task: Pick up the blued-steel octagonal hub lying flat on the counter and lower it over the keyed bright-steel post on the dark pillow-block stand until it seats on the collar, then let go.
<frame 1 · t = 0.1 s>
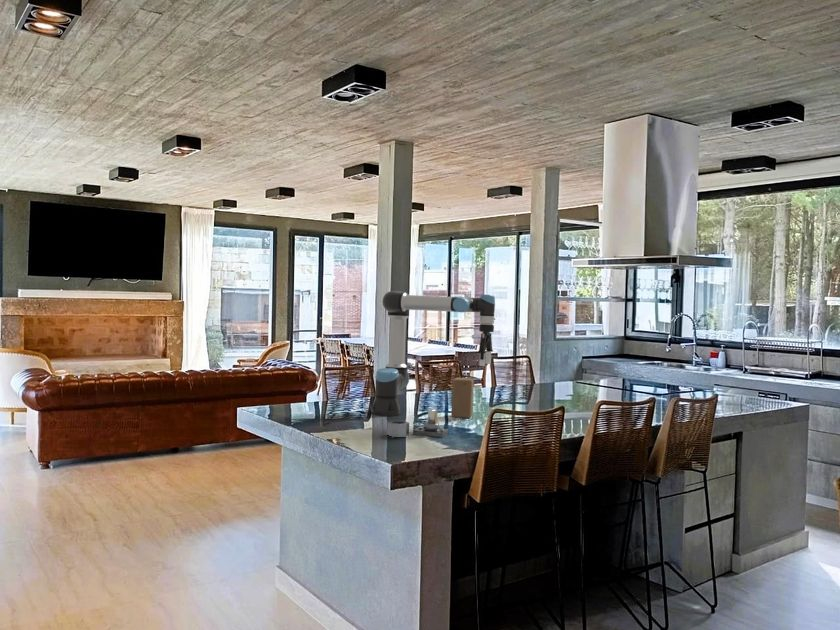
hand: (485, 365, 368), 28 cm above the countertop, fingers open, 13 cm apart
hub: (397, 435, 314), on the countertop
wooden block: (461, 416, 373), on the countertop
shaft stand: (431, 434, 321), on the countertop
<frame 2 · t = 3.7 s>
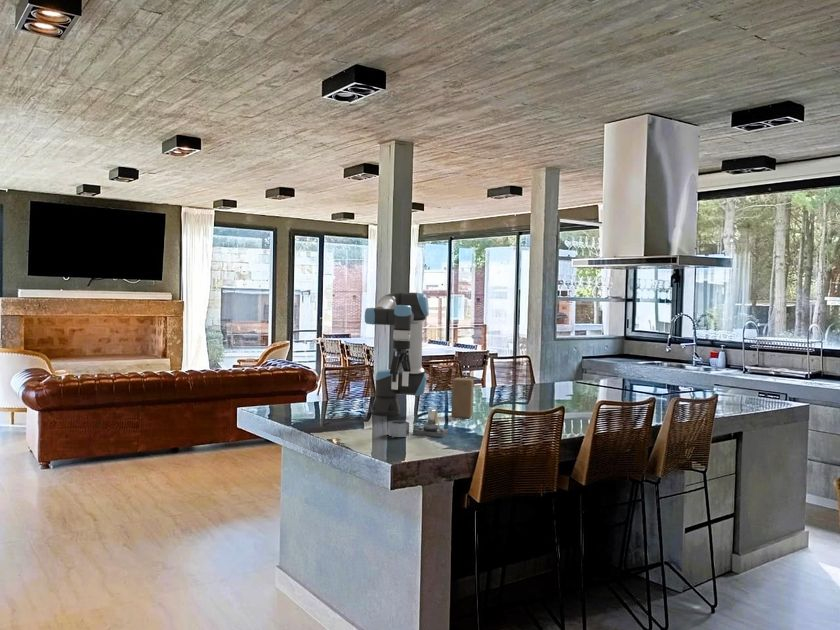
hand: (399, 387, 314), 21 cm above the countertop, fingers open, 13 cm apart
nothing on the countertop moved.
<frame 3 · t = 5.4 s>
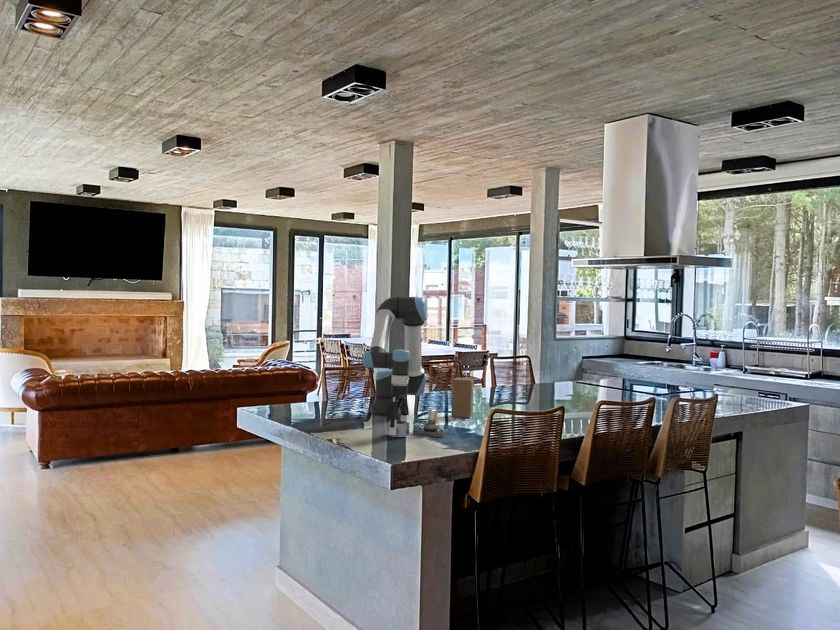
hand: (398, 432, 314), 2 cm above the countertop, fingers open, 13 cm apart
nothing on the countertop moved.
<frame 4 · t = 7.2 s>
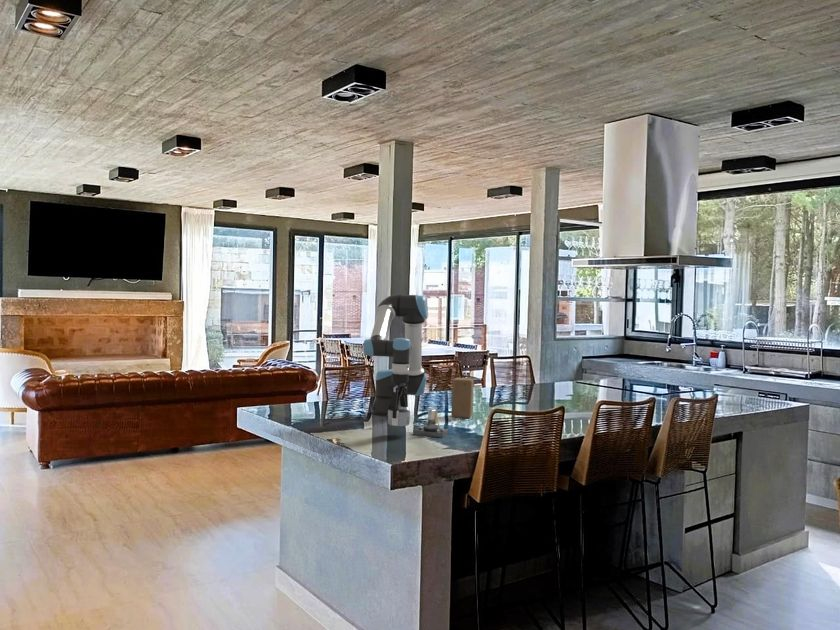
hand: (398, 423, 315), 5 cm above the countertop, fingers closed on hub, 9 cm apart
hub: (398, 423, 315), point 5 cm above the countertop, touching gripper
everything else where it was.
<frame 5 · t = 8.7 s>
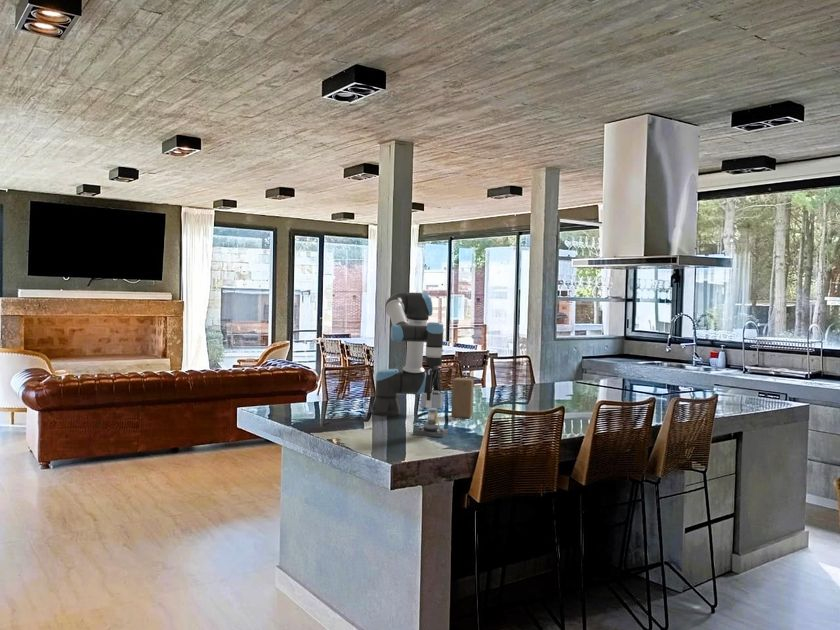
hand: (431, 406, 321), 13 cm above the countertop, fingers closed on hub, 9 cm apart
hub: (431, 406, 321), point 13 cm above the countertop, touching gripper
everything else where it was.
when the fingers open (5 cm above the countertop, at t = 10.6 s): hub stays where it is, resting on shaft stand.
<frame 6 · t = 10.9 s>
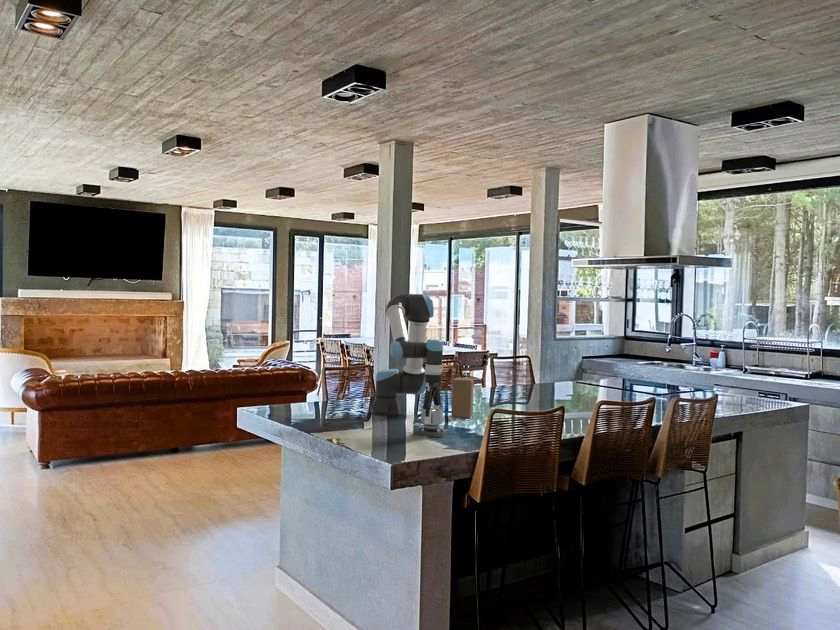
hand: (431, 421, 321), 6 cm above the countertop, fingers open, 11 cm apart
hub: (431, 423, 321), point 5 cm above the countertop, touching shaft stand
everything else where it was.
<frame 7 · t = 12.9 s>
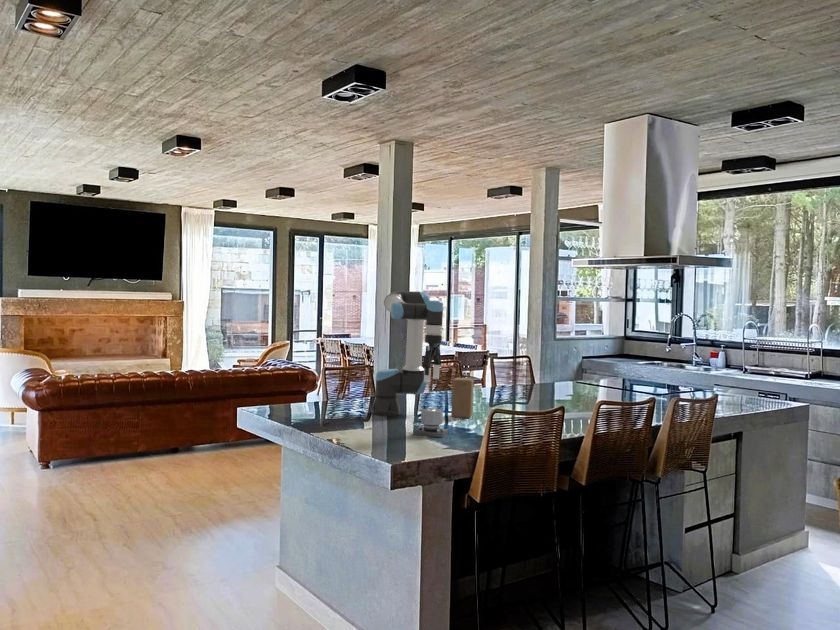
hand: (431, 380, 324), 24 cm above the countertop, fingers open, 13 cm apart
nothing on the countertop moved.
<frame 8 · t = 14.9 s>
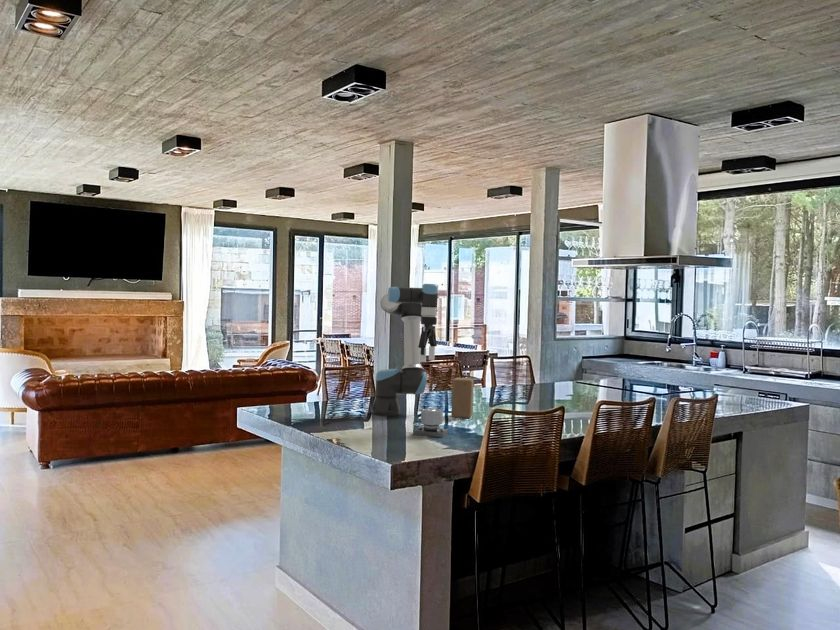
hand: (427, 360, 337), 32 cm above the countertop, fingers open, 13 cm apart
nothing on the countertop moved.
at the end: hub 0.0 cm off-centre on the shaft stand, point 5.0 cm above the shaft stand's base; hub tilted 0°; the gripper is holding nothing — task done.
